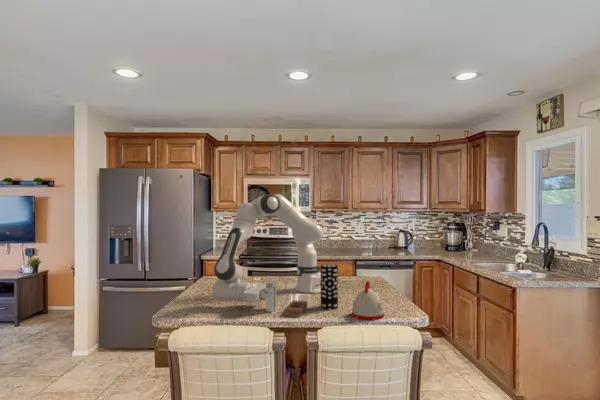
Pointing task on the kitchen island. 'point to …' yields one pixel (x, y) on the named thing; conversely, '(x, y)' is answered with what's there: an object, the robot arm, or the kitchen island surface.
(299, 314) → the brown slotted block
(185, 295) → the kitchen island surface
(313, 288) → the robot arm
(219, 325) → the kitchen island surface
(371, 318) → the kitchen timer
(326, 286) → the spotted tube
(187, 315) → the kitchen island surface
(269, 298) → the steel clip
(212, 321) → the kitchen island surface
